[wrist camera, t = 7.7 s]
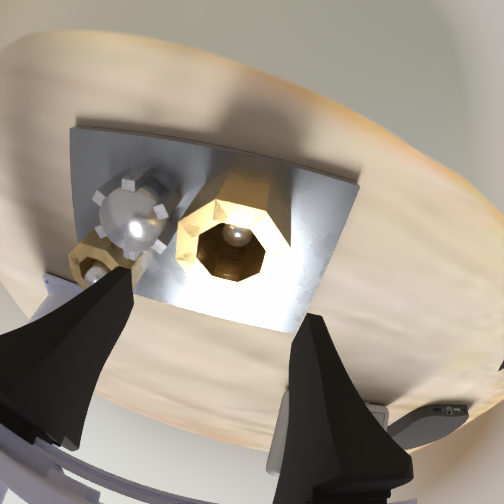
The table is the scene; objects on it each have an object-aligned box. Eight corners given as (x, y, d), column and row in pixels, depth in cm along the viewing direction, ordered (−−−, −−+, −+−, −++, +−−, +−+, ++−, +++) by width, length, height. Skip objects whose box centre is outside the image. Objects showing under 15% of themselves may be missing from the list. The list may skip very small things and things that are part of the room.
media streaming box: (366, 437, 42) (367, 452, 39) (421, 401, 34) (424, 418, 31) (421, 437, 43) (423, 450, 41) (474, 403, 35) (477, 417, 32)
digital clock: (393, 404, 33) (401, 472, 25) (348, 426, 38) (349, 487, 30) (306, 372, 30) (303, 464, 21) (261, 400, 35) (251, 476, 26)
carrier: (294, 327, 26) (293, 363, 22) (88, 272, 25) (67, 300, 22) (357, 182, 18) (372, 209, 14) (76, 125, 17) (40, 141, 14)
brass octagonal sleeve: (275, 254, 21) (270, 305, 17) (196, 235, 20) (173, 281, 16) (298, 181, 17) (300, 220, 13) (208, 159, 17) (181, 191, 13)
